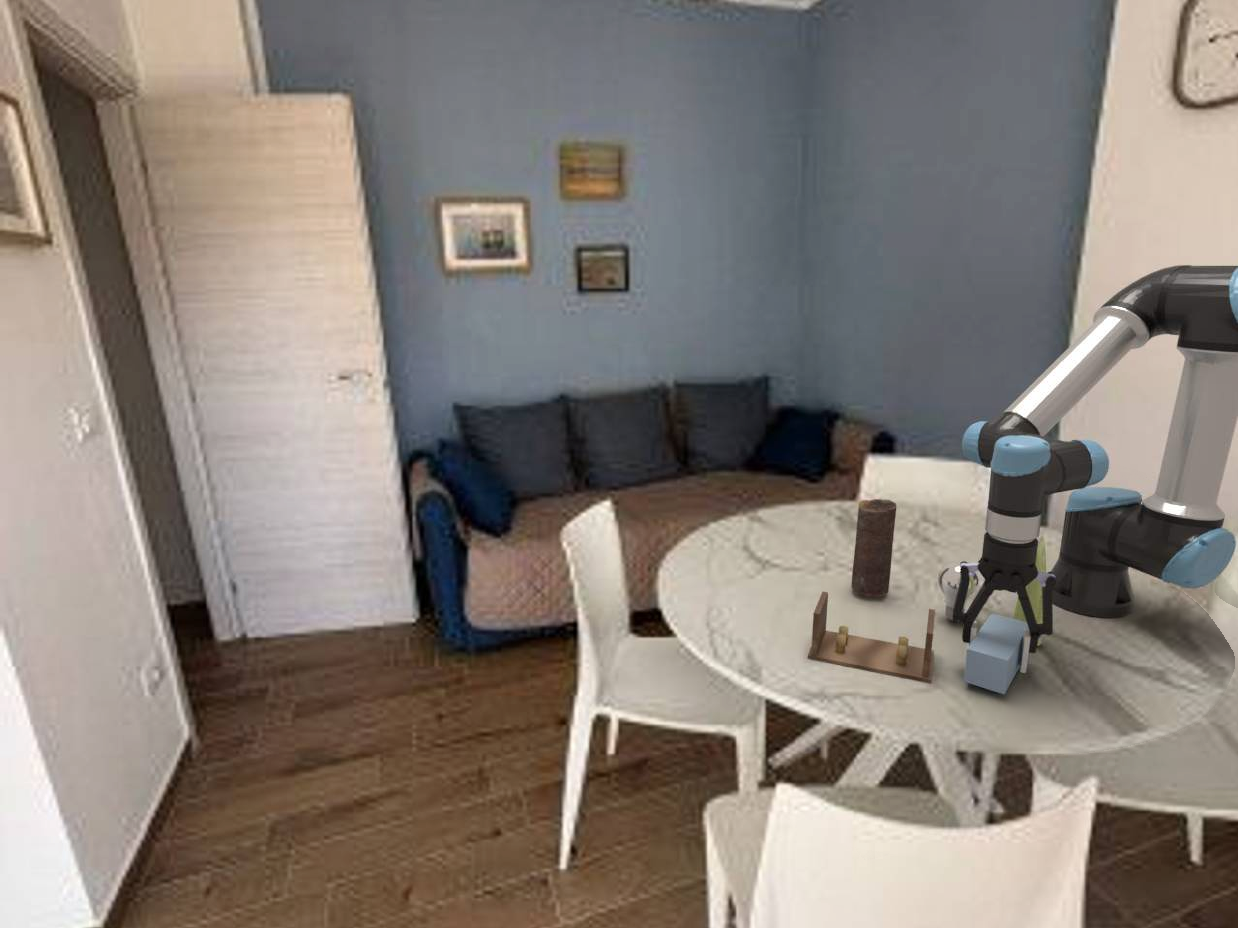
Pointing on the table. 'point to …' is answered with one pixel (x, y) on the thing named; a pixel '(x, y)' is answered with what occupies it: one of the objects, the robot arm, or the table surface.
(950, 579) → the light bulb
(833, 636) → the peg stand
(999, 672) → the block
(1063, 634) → the table surface
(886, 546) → the brown rusty cylinder
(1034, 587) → the tube
